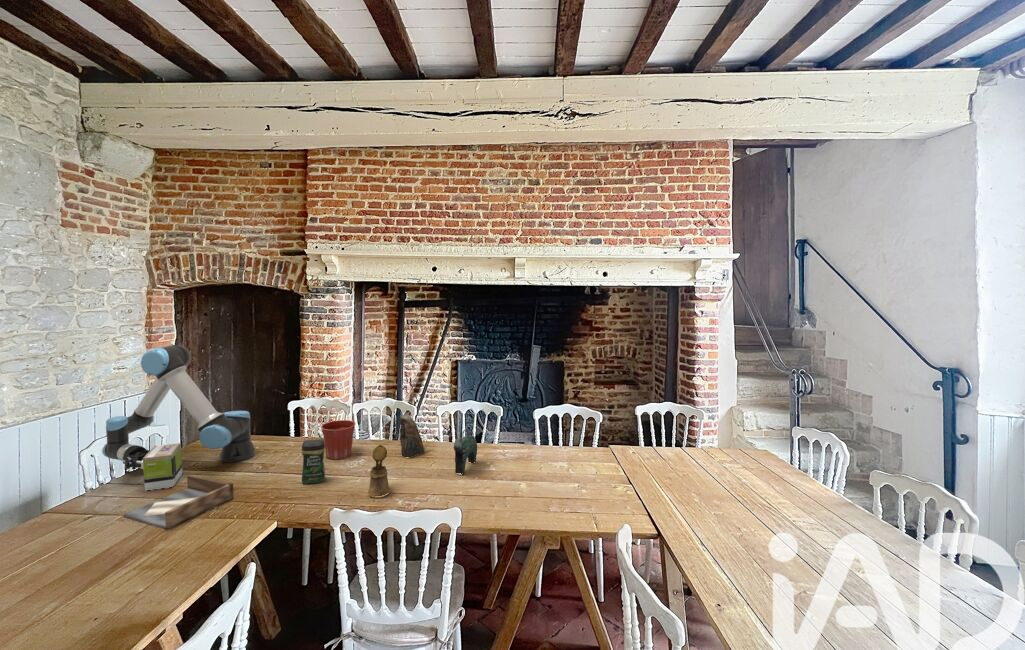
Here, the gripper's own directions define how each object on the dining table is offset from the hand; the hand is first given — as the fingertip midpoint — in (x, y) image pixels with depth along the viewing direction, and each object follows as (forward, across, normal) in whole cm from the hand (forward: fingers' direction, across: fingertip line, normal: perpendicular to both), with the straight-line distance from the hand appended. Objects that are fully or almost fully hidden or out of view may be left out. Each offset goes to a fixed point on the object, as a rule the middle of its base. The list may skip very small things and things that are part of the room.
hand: (164, 460), depth 195 cm
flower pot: (+51, -51, -9) cm, 72 cm away
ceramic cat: (+118, -60, -9) cm, 132 cm away
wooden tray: (+31, +15, -8) cm, 35 cm away
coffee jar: (+61, -23, -9) cm, 66 cm away
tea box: (+3, +2, -9) cm, 10 cm away
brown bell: (+94, -25, -9) cm, 98 cm away
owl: (+84, -67, -9) cm, 107 cm away
